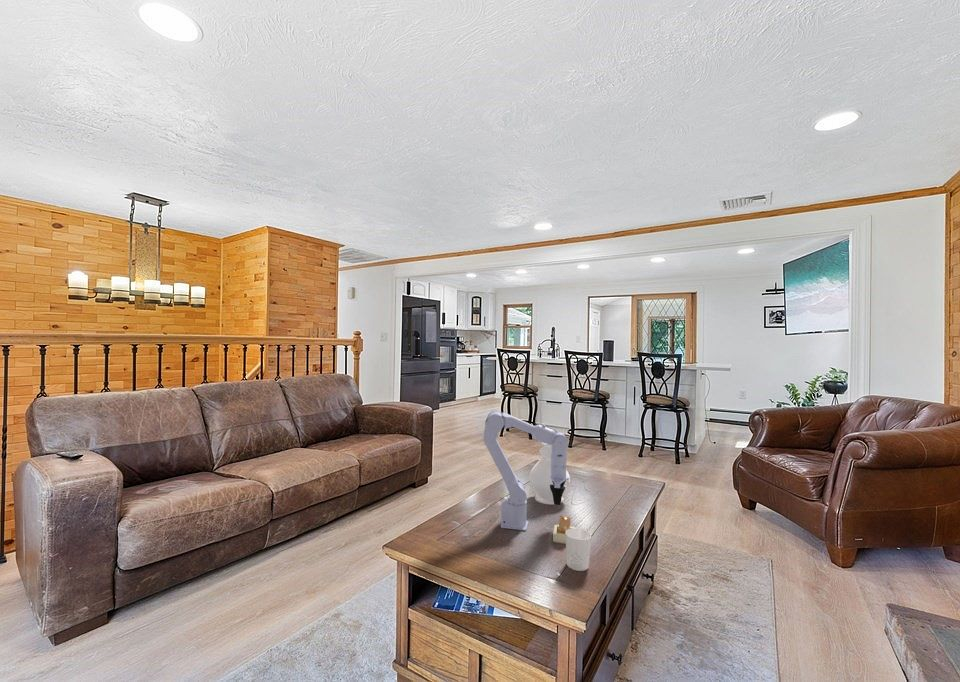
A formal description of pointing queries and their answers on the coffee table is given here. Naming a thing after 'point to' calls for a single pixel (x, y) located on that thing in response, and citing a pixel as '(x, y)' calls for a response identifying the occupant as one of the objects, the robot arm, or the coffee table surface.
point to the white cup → (578, 549)
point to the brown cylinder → (564, 524)
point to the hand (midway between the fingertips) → (557, 500)
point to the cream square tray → (559, 535)
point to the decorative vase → (544, 477)
